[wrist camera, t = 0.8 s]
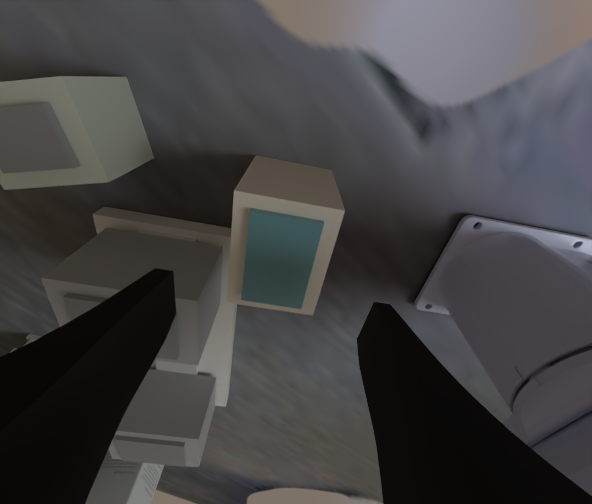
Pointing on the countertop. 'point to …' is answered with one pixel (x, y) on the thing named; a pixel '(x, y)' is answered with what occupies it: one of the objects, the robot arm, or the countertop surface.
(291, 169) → the block
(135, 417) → the rail board
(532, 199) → the countertop surface
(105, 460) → the skincare box
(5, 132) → the contactor
